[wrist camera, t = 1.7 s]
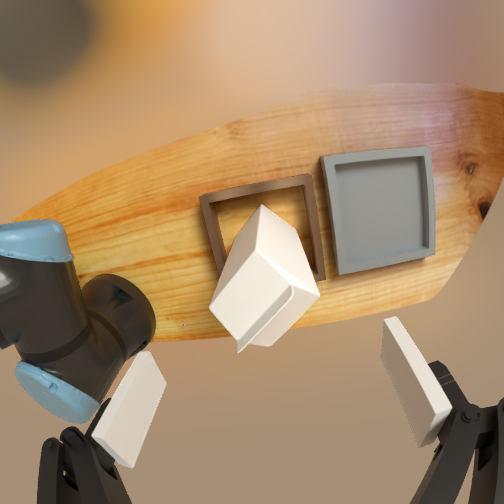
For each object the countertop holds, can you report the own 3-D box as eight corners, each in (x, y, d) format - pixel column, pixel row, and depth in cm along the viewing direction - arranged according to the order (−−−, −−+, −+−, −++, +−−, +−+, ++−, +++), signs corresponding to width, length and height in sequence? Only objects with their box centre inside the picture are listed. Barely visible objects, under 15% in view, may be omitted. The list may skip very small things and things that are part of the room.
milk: (296, 229, 37) (332, 319, 16) (269, 262, 39) (271, 375, 18) (260, 202, 36) (254, 265, 15) (234, 237, 38) (198, 333, 17)
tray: (335, 268, 39) (339, 275, 36) (319, 156, 34) (323, 156, 31) (427, 249, 37) (435, 254, 35) (421, 146, 32) (429, 146, 29)
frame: (227, 287, 41) (224, 296, 38) (204, 193, 36) (198, 197, 33) (322, 271, 39) (326, 279, 36) (307, 173, 34) (311, 175, 32)
